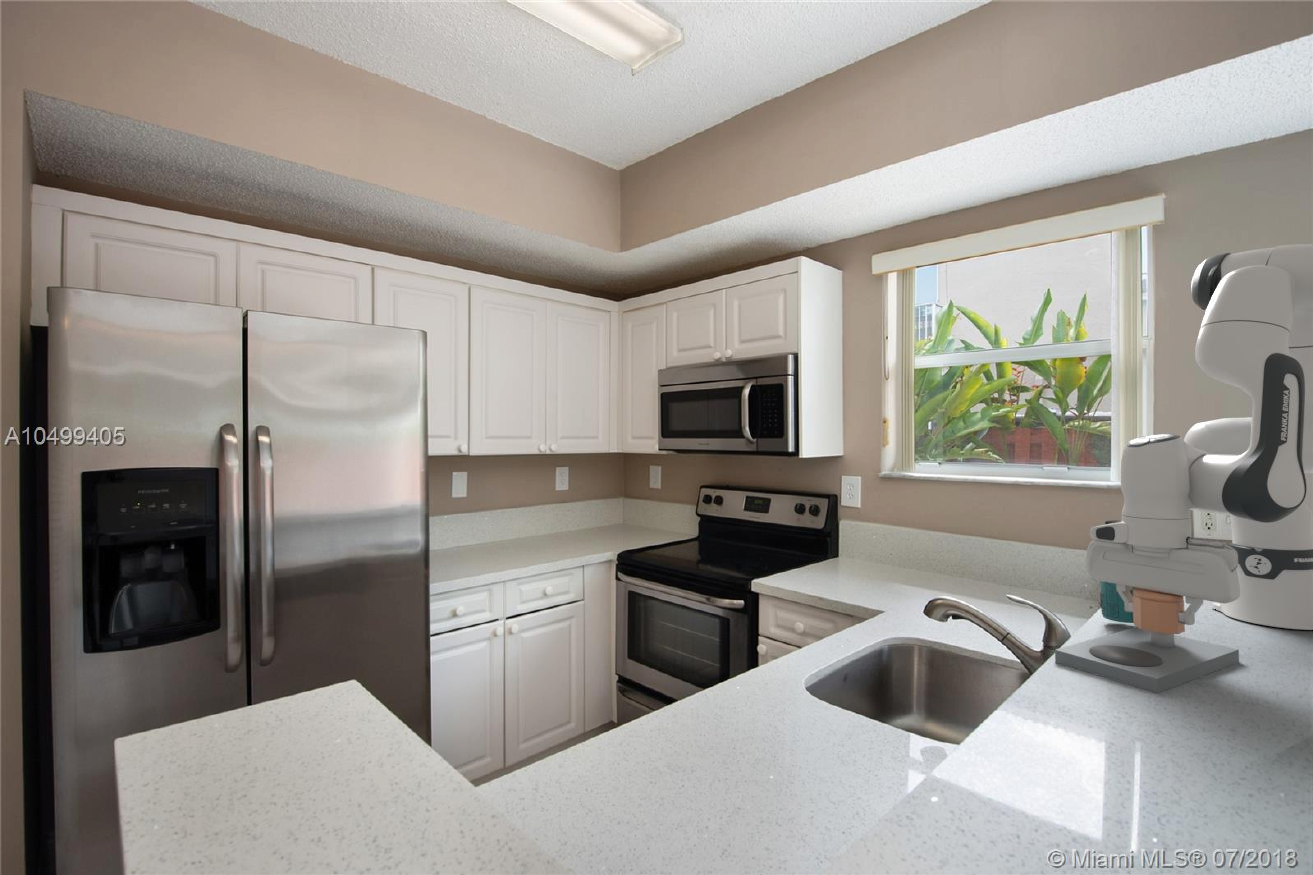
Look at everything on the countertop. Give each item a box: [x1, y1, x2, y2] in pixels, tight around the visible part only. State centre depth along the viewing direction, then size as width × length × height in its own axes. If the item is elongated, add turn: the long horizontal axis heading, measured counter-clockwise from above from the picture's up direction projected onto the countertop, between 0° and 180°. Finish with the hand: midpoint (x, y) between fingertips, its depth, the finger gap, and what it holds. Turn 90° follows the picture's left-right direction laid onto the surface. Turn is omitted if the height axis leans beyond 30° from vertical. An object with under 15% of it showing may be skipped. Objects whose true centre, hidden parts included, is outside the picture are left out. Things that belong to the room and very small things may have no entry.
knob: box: [1133, 587, 1186, 635], centre depth 100 cm, size 6×6×6 cm
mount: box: [1054, 626, 1240, 694], centre depth 97 cm, size 24×14×6 cm, turn 116°
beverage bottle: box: [1098, 519, 1135, 624], centre depth 116 cm, size 6×7×20 cm
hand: (1158, 617), depth 100 cm, fingers closed on knob, 6 cm apart
